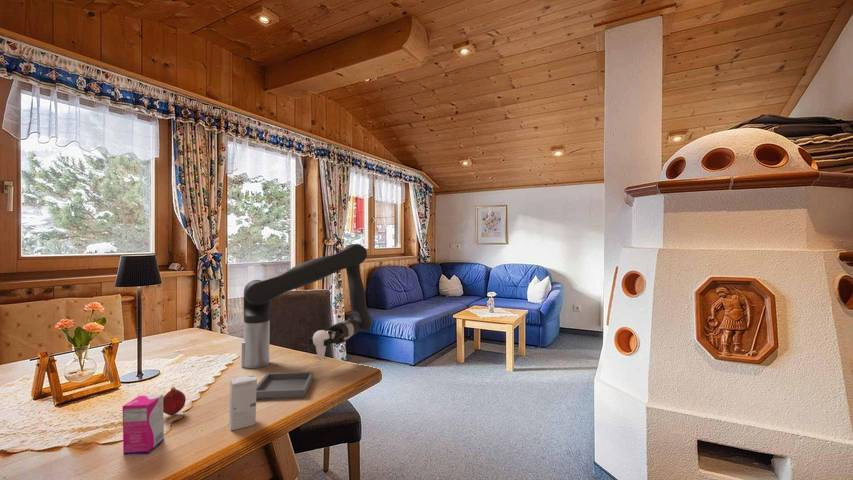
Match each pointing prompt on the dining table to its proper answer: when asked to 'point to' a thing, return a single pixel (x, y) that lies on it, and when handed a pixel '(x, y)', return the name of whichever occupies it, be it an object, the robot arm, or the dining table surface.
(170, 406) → the onion
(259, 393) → the parts tray
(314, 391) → the dining table surface
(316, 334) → the lightbulb
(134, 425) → the supplement box
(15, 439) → the dining table surface
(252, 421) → the skincare box
